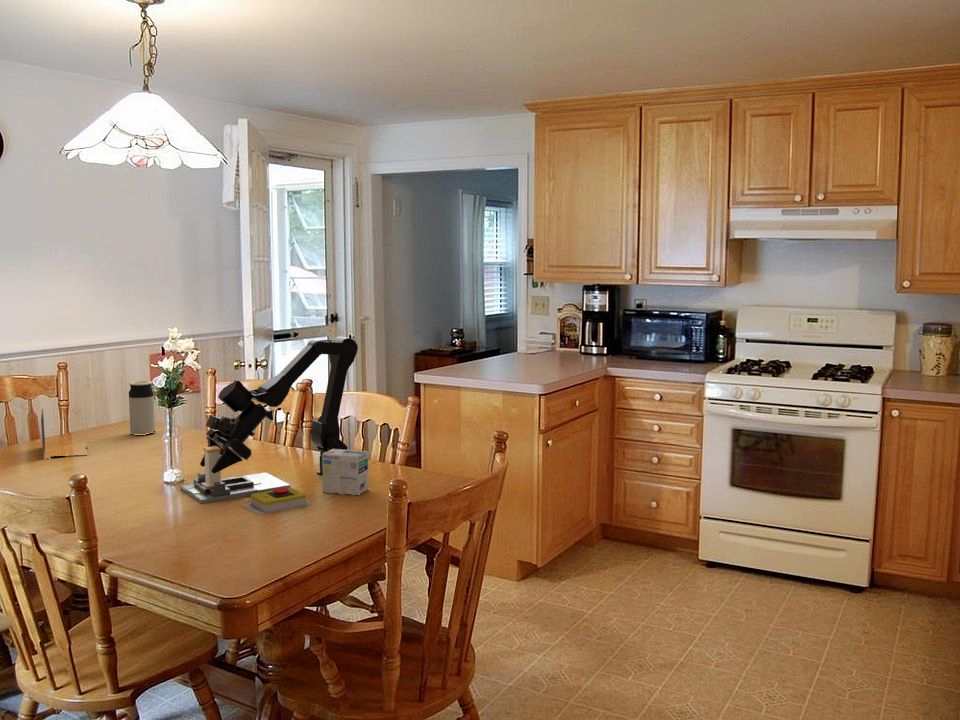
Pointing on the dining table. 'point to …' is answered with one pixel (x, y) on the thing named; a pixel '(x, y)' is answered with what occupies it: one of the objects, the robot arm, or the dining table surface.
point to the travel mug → (141, 407)
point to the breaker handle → (211, 466)
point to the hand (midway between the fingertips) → (206, 469)
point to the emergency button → (276, 500)
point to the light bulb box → (345, 471)
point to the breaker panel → (232, 487)
